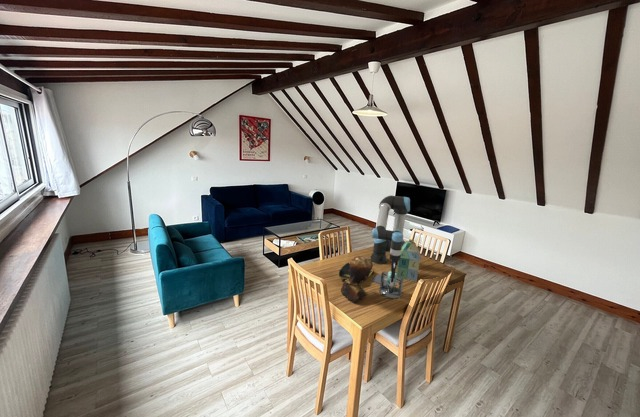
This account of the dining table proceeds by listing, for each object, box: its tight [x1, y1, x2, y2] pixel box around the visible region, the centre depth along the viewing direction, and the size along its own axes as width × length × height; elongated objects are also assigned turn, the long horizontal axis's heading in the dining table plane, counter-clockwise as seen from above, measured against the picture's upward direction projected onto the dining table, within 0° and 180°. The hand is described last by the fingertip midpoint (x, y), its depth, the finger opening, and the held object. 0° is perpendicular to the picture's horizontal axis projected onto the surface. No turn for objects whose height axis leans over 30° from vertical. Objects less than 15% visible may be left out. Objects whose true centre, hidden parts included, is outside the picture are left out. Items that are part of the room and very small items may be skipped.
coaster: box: [370, 274, 388, 286], centre depth 221 cm, size 13×13×1 cm
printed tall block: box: [396, 238, 422, 282], centre depth 228 cm, size 17×16×30 cm
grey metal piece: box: [379, 271, 404, 300], centre depth 202 cm, size 16×16×14 cm
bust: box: [340, 255, 374, 304], centre depth 195 cm, size 21×23×30 cm
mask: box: [337, 262, 375, 280], centre depth 226 cm, size 25×6×30 cm
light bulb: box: [384, 270, 400, 286], centre depth 201 cm, size 11×7×7 cm, turn 51°
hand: (391, 283), depth 202 cm, fingers closed on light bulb, 7 cm apart
